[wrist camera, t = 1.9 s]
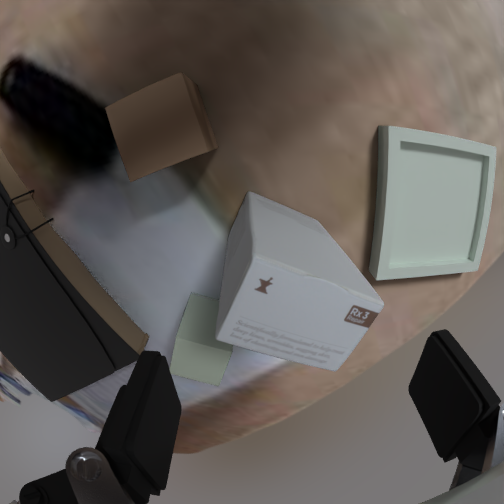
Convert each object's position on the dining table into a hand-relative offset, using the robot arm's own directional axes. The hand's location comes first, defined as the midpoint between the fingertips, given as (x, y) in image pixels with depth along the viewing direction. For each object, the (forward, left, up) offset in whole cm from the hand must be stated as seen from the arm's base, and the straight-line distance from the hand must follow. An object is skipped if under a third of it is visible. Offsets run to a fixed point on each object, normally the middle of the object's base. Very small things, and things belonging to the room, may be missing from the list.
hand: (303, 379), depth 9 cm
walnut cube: (-9, -7, -14) cm, 18 cm away
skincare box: (-1, 0, -15) cm, 14 cm away
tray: (-3, +14, -14) cm, 20 cm away
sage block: (+7, -6, -14) cm, 17 cm away
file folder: (+2, -31, -15) cm, 34 cm away
